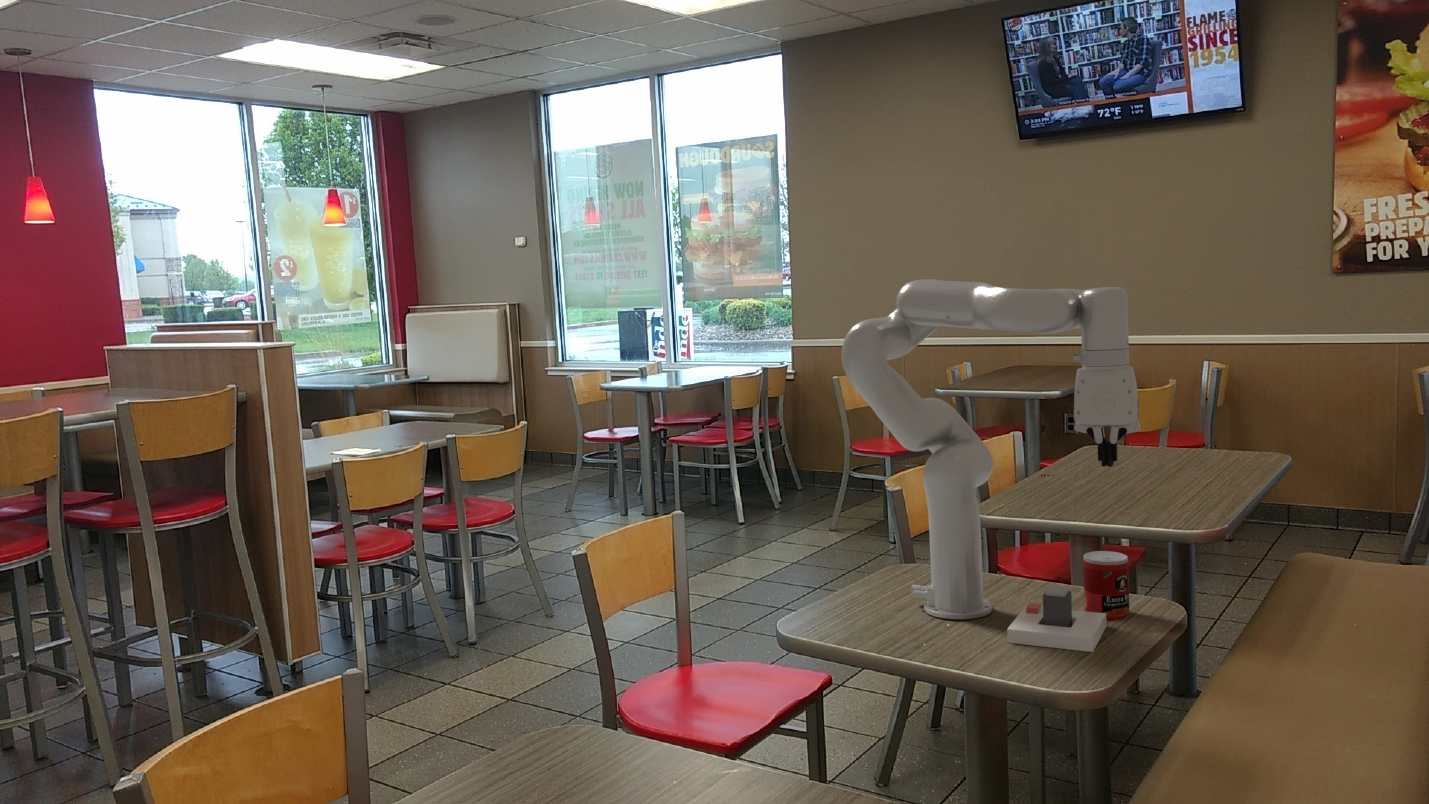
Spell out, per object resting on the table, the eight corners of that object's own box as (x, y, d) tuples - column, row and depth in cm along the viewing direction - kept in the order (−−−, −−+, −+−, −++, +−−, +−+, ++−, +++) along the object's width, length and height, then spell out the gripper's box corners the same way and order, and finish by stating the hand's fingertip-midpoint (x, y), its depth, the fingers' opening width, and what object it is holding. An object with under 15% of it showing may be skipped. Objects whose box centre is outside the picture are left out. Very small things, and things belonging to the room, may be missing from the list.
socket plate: (1007, 642, 178) (1006, 623, 178) (1026, 618, 190) (1025, 600, 190) (1092, 652, 171) (1092, 632, 171) (1106, 626, 183) (1106, 607, 183)
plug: (1043, 634, 180) (1042, 591, 179) (1048, 628, 184) (1047, 585, 183) (1067, 637, 178) (1066, 593, 177) (1072, 630, 182) (1071, 587, 181)
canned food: (1107, 624, 185) (1105, 563, 184) (1075, 612, 192) (1073, 554, 191) (1139, 616, 188) (1138, 557, 187) (1106, 605, 195) (1105, 548, 194)
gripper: (1055, 362, 178) (1058, 468, 180) (1149, 360, 171) (1151, 470, 172) (1064, 359, 184) (1067, 461, 186) (1155, 356, 177) (1157, 463, 179)
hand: (1107, 465), depth 179 cm, fingers closed
